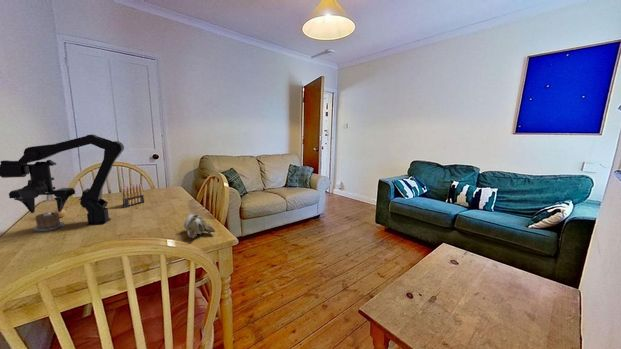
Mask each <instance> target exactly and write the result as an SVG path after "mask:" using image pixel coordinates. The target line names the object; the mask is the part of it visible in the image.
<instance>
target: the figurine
mask: <svg viewBox="0 0 621 349" xmlns="http://www.w3.org/2000/svg"><path fill="white" fill-rule="evenodd" d="M70 197H71V196H69V197H68V199H67V201H66V204H69V201H70ZM64 208H65V206H64V207H63V209H62V211H61V212H58V209H56V210H55V211H54V212H58V213H59V218H63V217H65V216H66V214H67V211H66V210H65V209H64Z"/></svg>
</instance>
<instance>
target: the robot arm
mask: <svg viewBox="0 0 621 349" xmlns="http://www.w3.org/2000/svg"><path fill="white" fill-rule="evenodd" d="M87 145H93V146H95V147H98V148H99V149H102V150H104V151H103V160H102V162H101V164H100V167H99V168H98V171H97V173H96V176H95V177H94V180H93V182H92V184H91V187H89V188H88V187H87V188H86V189H84V190H83V191H82V194H81V197H80V198H79V199H78V200H79V204H80V206H81V207H82V208H83V209H85V210H86V211H87V213H86V216H87V218H86V219H87V223H86V225H91V226H92V225H104V224H106V223H107V222H110V220H112V218H111V217H109V215H110V214H109V208H108V207H107V206H108V201H106V200H105V199H103V198H102V197H103V189H104V186H105V184H106V182H107V180H108V178H109V175H110V173H111V170H112V168H113V166H114V164H115V162H116V161H117V159H118V158H119V157H120V156H121V154H122V153H123V152H124V150H125V146H124V144H123V143H122V142H121V141H117V140H113V141H112V140H111V139H107V138H103V137H100V136H98V135H96V134H93V133H92V134H87V135H85V136H81V137H78V138H73V139H68V140H65V141H60V142H56V143H53V144H43V145H35V146H28V147H26V148H25V149H24V150H23V155H21V157H20V158H19V159H18V160H5V159H4V160H1V161H0V178H2V179H7V178H10V179H11V178H25V177H26V176H27V175H29V176H30V179H28V181H27V185H25V186H23V187H21V188H18V189H14V190H10V192H8V197H9V199H13V200H14V201H18V202H20V203H22V204H23V205H24V206H25V207H26V208H27V210H28V211H29V212H30V213H31V214H34V213H35V211H36V210H35V209H36V204H35V202H36V201H35V200H36V198H38V197H39V196H49V195H51V196H54V198H53V199H54V200H55V202H56V205H57V206H56V207H57V210H58V212H61V211H62V209H64V208H65V205H66V203H67V200H68V197H71V196H73V195H76V190H75V189H74V188H73V187H61V188H58V189H56V186H53V181H55V177H53V176H52V174H51V173H52V172H51V166H55V165H57V163H56V162H54V161H53V160H52V159H49V158H50V157H53V156H55V155H57V154H60V153H62V152H65V151H69V150H73V149H77V148H80V147H85V146H87ZM46 159H47V160H46ZM42 160H46V161H42ZM33 162H35V163H33ZM63 207H64V208H63Z"/></svg>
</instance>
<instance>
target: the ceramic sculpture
mask: <svg viewBox="0 0 621 349" xmlns="http://www.w3.org/2000/svg"><path fill="white" fill-rule="evenodd" d="M183 227H184V229H185V230H186V232H185V233H186V235H187V236H188V238H190V239H194V238H196V237H197V236H198V235H197V234H200V235H202V234H201V233H203V232H204V233H205V232H206V233H207V232H208V234H212V233H211V232H213V233H215V232H216V230H215V228H214V226H213V225H211V224H209V223H207V222H206V220H205V219H204V218H203V217H201V216H200V215H198V214H192V213H189V214H188V216H187V217H186V218H185V221H184V223H183ZM204 233H203V234H204Z"/></svg>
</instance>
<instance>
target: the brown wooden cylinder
mask: <svg viewBox="0 0 621 349" xmlns="http://www.w3.org/2000/svg"><path fill="white" fill-rule="evenodd" d="M49 212H50V213H51V214H52V215H51V216H44V217H43V215H44V213H45V212H43V213H40V214H37V215H35V222H36V226H37V228H38V229H46V228H51V227H55V226H58V225H60V222H61V220H60V217H59V213H58V212H55V211H53V212H51V211H49Z"/></svg>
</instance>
